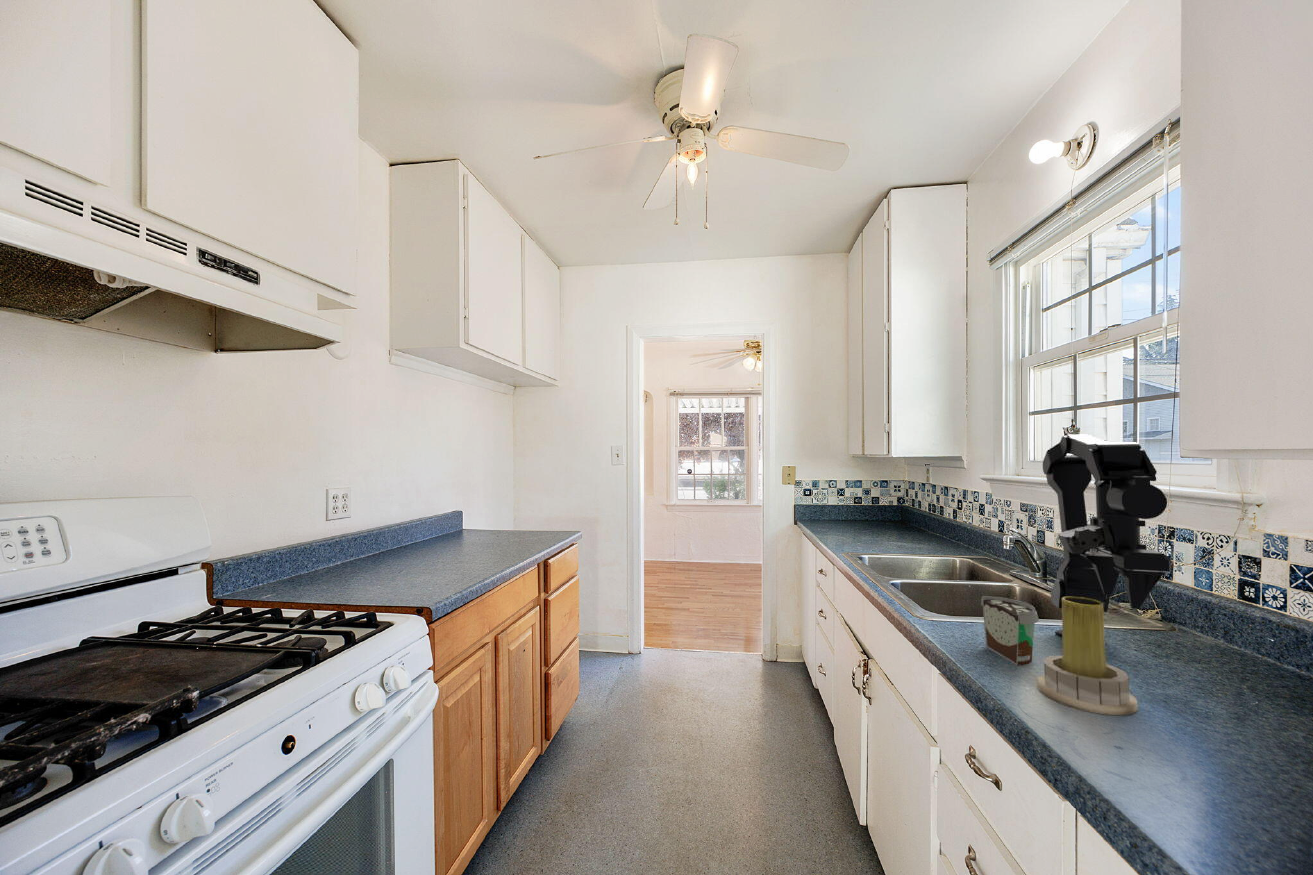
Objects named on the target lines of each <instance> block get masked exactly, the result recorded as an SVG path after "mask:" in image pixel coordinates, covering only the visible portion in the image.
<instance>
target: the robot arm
mask: <svg viewBox="0 0 1313 875" xmlns="http://www.w3.org/2000/svg"><path fill="white" fill-rule="evenodd" d="M1042 472H1043V474H1044V475H1045V477H1046V482H1047V484H1048V485H1049V487H1051V489H1052V490H1053V491H1054V492H1055V493H1056V494H1057V501H1058V512H1059V513H1058V514H1059V520H1060V530H1061V532H1059V533H1057V536H1058V539H1059V540H1060V543H1061V545H1062V547H1063V548H1062V549H1063V557H1064V561H1063V562H1062V563H1061V565H1060V567H1059V568H1058V570H1057V572H1056V579H1055V580H1054V583H1053V586H1052V588H1051V591H1050V600H1051V603H1052V605H1054V606H1055V607H1056V608H1057V609H1062V598H1063V597H1069V596H1072V597H1084V598H1090V599H1094V600H1098V601H1100V602H1102V603H1103V610H1104V613H1108V609H1109V605H1110V597H1111V596H1112V595H1113V593H1114V591H1115V588H1116V585H1117V583H1118V578H1119V576H1120V575H1121V576H1122V577H1123V578H1124V584H1125V588H1126V593H1127V598H1128V603H1129V606H1130V608H1131V609H1134V610H1140V609H1141V608H1142V606H1143V604H1144V603H1145V601H1146V600H1147V599H1148V597H1149V595H1150V593H1151V592H1152V591H1153V589H1154V588H1155V586H1156V585H1157V584H1158V583H1159V581H1160V580H1161V578H1162V577H1163V576H1167V572H1169V573H1170V572H1172V559H1171V558H1170V557H1169V556H1167V555H1166V554H1165V553H1164V552H1160V551H1156V550H1153V549H1147V544H1144V543H1142V542H1141V527H1144V528H1145V527H1147V526H1146V520H1150V519H1151V520H1152V519H1154V518H1157V517H1159V516H1161V515H1162V514H1163V513H1164V512H1165V510H1166V509H1167V507H1168V499H1167V497H1166V494H1165V492H1163V490H1162V489H1160V488H1159V487H1157V486H1155V485H1153V484H1151V482H1156V481H1157V476H1156V475H1157V472H1158V471H1157V470H1156V467H1155V466H1154V464H1153V462H1152V460H1151V459H1150V458H1149V456H1148V454H1147V451H1145V449H1144V448H1142V446H1141V445H1140V443H1138V442H1135V441H1134V442H1130V441H1129V442H1109V441H1105V440H1103V439H1099V438H1097V437H1094V435H1090V434H1066V435H1063V436H1061V439H1060V441H1059V442H1058V443H1056V444H1055V445H1054V446H1052V447H1050V448H1049V449H1047V450H1046V453H1045V455H1044V458H1043V461H1042ZM1092 478H1093V479H1094V483H1093V484H1094V486H1095V506H1096V507H1095V508H1096V510H1095V511H1096V516H1091V518H1089V524H1088V516H1087V510H1086V502H1085V491H1086V490H1087V488H1088V487H1089V485H1090V484H1091V482H1092ZM1054 634H1055V635H1058V636H1060V637H1062V629H1060V630H1056V631H1055V632H1054ZM1104 640H1106V635H1104Z"/></svg>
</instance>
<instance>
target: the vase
mask: <svg viewBox="0 0 1313 875" xmlns="http://www.w3.org/2000/svg"><path fill="white" fill-rule="evenodd" d="M1104 613H1105V612H1104V610H1103V603H1102V602H1100V601H1098V600H1094V599H1090V598H1084V597H1072V596H1069V597H1063V598H1062V608H1061V619H1062V620H1061V622H1062V623H1061V624H1062V628H1061V630H1062V636H1061V638H1062V639H1061V641H1062V656H1063V659H1062V670H1064V671H1067V672H1070V673H1073V674H1076V675H1080V676H1086V677H1092V678H1102V679H1107V671H1106V664H1107V658H1106V644H1105V640H1106V639H1104V636H1105V614H1104Z"/></svg>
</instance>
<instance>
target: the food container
mask: <svg viewBox="0 0 1313 875" xmlns="http://www.w3.org/2000/svg"><path fill="white" fill-rule="evenodd" d="M980 600H981V601H980V606H982V613H983V622H984V623H983V624H984V635H985V637H984V638H985V646H986V648H987V649H989V650H991V651H993V652H994V653H996V654H997V655H999V656H1001V657H1002V658H1004V659H1006V660H1008V661H1010V662H1011V663H1012V664H1014V665H1016V666H1026V665H1030V664H1031V663H1033V650H1034V649H1033V648H1034V633H1035V624H1036V623H1038V622H1039V621H1040V620H1039V619H1040V618H1039V616H1038V612H1037V610H1036V608H1035V606H1033V605H1032V604H1030V603H1028V602H1025V601H1021V600H1017V599H1012V598H1007V597H1002V596H1001V597H1000V596H989V595H988V596H987V595H982V596H981V599H980Z"/></svg>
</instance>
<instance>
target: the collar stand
mask: <svg viewBox="0 0 1313 875" xmlns="http://www.w3.org/2000/svg"><path fill="white" fill-rule="evenodd" d="M1062 659H1063V655H1049V656H1048V657H1047V656H1046V657H1044V658H1043V673H1044V674H1043V675H1040V676H1039V677H1038V678H1037V688H1038V690H1039V692H1040V693H1041V694H1043V695H1044V696H1045V697H1047V698H1049V699H1051V700H1053V701H1055V702H1057V703H1059V704H1061V705H1065V706H1067V707H1070V708H1074V709H1077V710H1081V711H1085V712H1088V711H1089V713H1094V714H1098V713H1099V714H1100V715H1107V716H1128V715H1132V714H1135V713H1137V711H1138V701H1137V698H1136V697H1135V696H1134V695H1133V694H1131V693H1130V681H1129V680H1130V678H1129V676H1128V675H1127V673H1126V672H1125V671H1123V670H1122V669H1119V668H1117V667H1116V666H1114V665H1111V664H1108V663H1106V671H1107V679H1102V678H1092V677H1086V676H1080V675H1076V674H1073V673H1070V672H1067V671H1064V670H1062Z"/></svg>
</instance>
